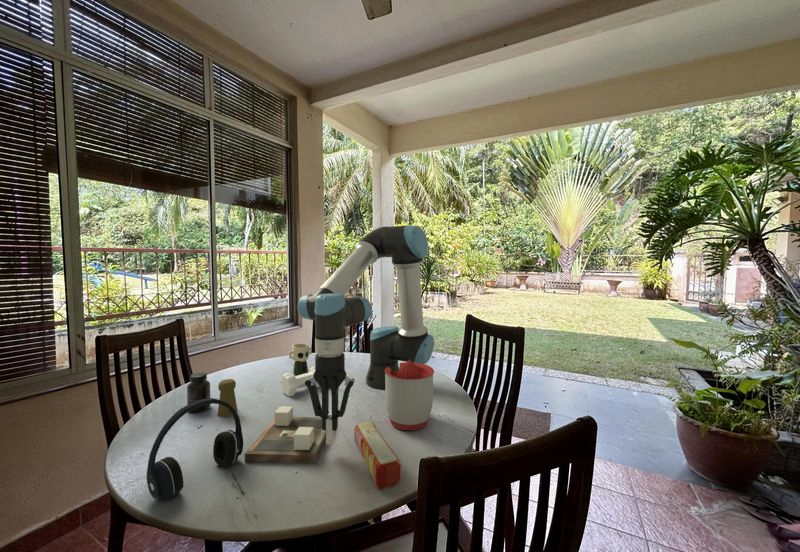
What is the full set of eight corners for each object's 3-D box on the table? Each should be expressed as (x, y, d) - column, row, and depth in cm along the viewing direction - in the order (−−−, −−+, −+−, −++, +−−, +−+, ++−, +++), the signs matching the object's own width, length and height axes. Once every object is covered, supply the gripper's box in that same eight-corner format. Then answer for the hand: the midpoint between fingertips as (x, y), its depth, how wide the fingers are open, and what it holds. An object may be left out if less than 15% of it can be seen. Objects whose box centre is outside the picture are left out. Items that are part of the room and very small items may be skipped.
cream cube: (313, 441, 90) (313, 427, 90) (309, 450, 86) (309, 435, 86) (299, 441, 91) (299, 426, 90) (294, 449, 87) (293, 434, 86)
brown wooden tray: (333, 424, 104) (333, 417, 104) (314, 463, 84) (314, 454, 84) (276, 422, 105) (276, 415, 105) (244, 461, 85) (244, 452, 85)
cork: (241, 410, 114) (241, 378, 113) (227, 418, 108) (226, 384, 107) (228, 407, 116) (227, 376, 115) (213, 415, 110) (212, 382, 109)
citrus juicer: (404, 405, 118) (405, 349, 117) (443, 422, 106) (444, 360, 105) (370, 419, 107) (370, 358, 106) (409, 441, 95) (410, 372, 94)
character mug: (293, 379, 143) (293, 349, 142) (285, 374, 148) (285, 345, 147) (315, 372, 151) (315, 344, 150) (307, 369, 156) (307, 341, 155)
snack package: (352, 444, 94) (352, 420, 93) (375, 439, 96) (375, 416, 96) (375, 493, 74) (375, 464, 74) (402, 486, 76) (402, 458, 76)
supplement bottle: (213, 409, 114) (212, 374, 114) (190, 415, 109) (189, 379, 109) (206, 402, 119) (206, 369, 118) (184, 409, 114) (183, 374, 113)
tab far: (292, 419, 103) (292, 406, 102) (288, 425, 99) (288, 412, 99) (280, 419, 103) (280, 406, 103) (274, 425, 99) (274, 412, 99)
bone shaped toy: (290, 400, 123) (290, 379, 122) (279, 391, 129) (279, 371, 128) (325, 389, 134) (326, 369, 133) (313, 381, 140) (314, 362, 139)
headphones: (231, 452, 89) (230, 385, 88) (247, 461, 85) (246, 390, 84) (143, 498, 72) (140, 415, 71) (158, 511, 68) (155, 424, 67)
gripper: (300, 357, 83) (301, 448, 85) (352, 358, 83) (352, 450, 84) (309, 349, 91) (310, 433, 92) (357, 349, 90) (357, 434, 92)
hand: (330, 441), depth 88 cm, fingers closed
